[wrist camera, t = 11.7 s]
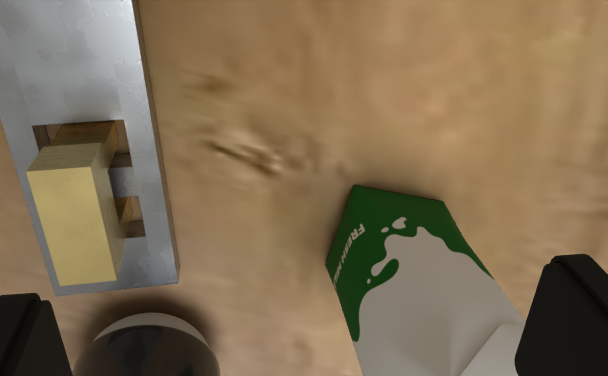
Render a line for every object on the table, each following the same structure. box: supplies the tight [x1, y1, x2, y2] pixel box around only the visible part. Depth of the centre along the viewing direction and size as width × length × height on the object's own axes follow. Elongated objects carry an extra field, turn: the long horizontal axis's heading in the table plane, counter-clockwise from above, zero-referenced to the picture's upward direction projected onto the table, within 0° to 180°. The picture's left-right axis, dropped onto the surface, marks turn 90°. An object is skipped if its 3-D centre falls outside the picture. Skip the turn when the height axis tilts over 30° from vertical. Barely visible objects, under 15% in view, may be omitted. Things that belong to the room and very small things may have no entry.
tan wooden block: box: [26, 121, 133, 286], centre depth 30 cm, size 7×3×7 cm, turn 1°
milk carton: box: [325, 185, 526, 376], centre depth 30 cm, size 9×9×20 cm
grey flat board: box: [0, 0, 180, 296], centre depth 30 cm, size 26×8×2 cm, turn 1°
